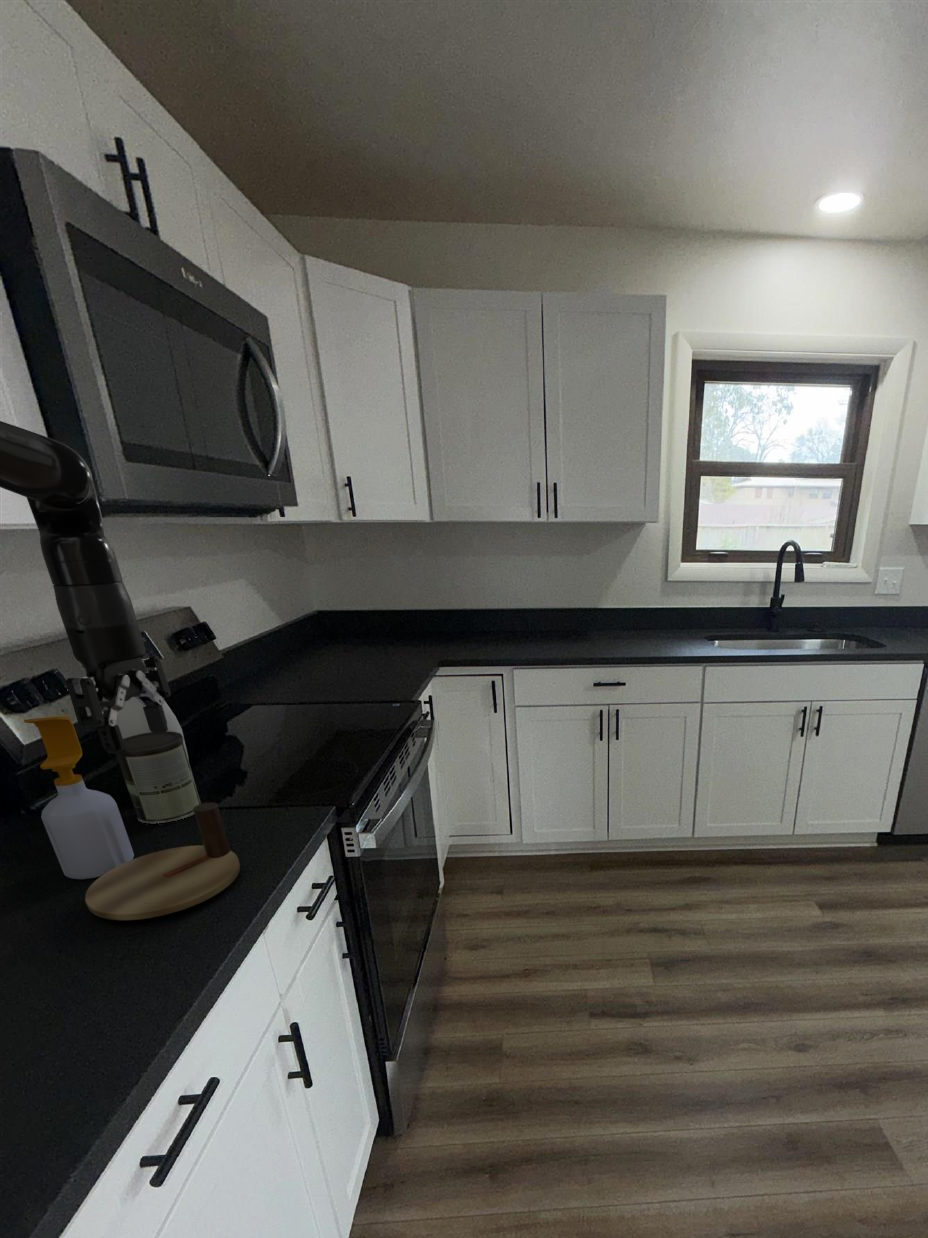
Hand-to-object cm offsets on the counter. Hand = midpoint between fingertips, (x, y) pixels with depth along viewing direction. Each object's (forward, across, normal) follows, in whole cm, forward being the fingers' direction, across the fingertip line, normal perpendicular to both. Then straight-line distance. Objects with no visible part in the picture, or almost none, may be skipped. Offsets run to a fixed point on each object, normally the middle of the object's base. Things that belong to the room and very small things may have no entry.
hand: (139, 741), depth 87 cm
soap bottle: (+22, -4, -16) cm, 27 cm away
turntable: (+21, +3, 0) cm, 21 cm away
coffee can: (+22, -23, -17) cm, 36 cm away
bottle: (+22, -34, -25) cm, 48 cm away
